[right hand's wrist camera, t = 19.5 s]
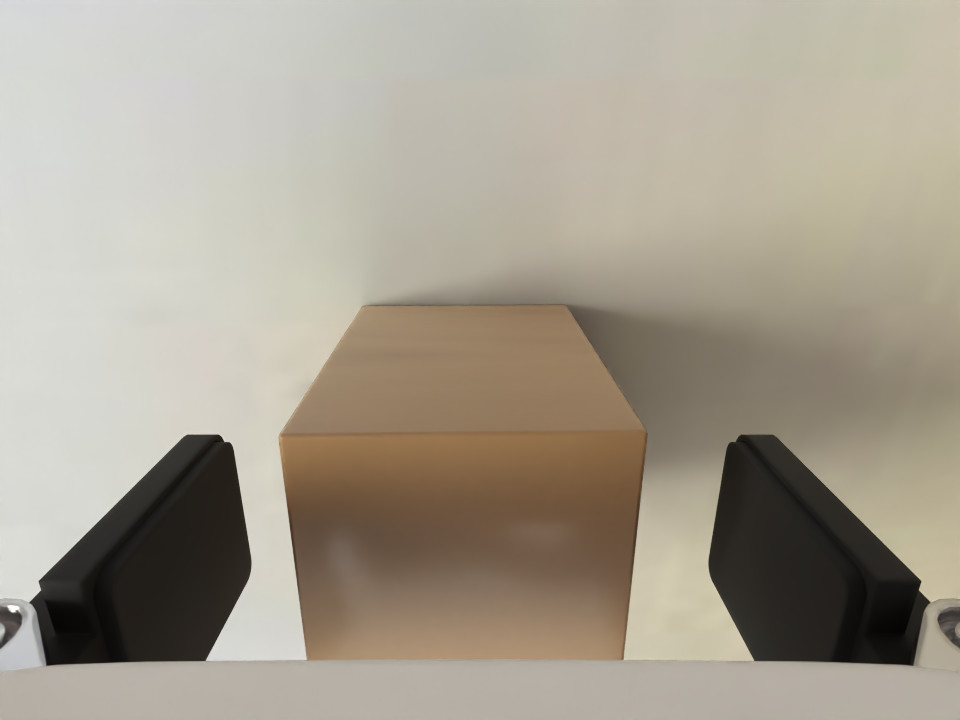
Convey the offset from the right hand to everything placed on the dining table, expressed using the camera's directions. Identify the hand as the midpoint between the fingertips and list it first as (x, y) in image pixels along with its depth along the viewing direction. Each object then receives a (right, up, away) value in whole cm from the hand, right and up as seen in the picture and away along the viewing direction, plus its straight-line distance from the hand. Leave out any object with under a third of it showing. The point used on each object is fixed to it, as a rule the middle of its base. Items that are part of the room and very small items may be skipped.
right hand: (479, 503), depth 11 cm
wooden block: (0, +2, +5) cm, 5 cm away
